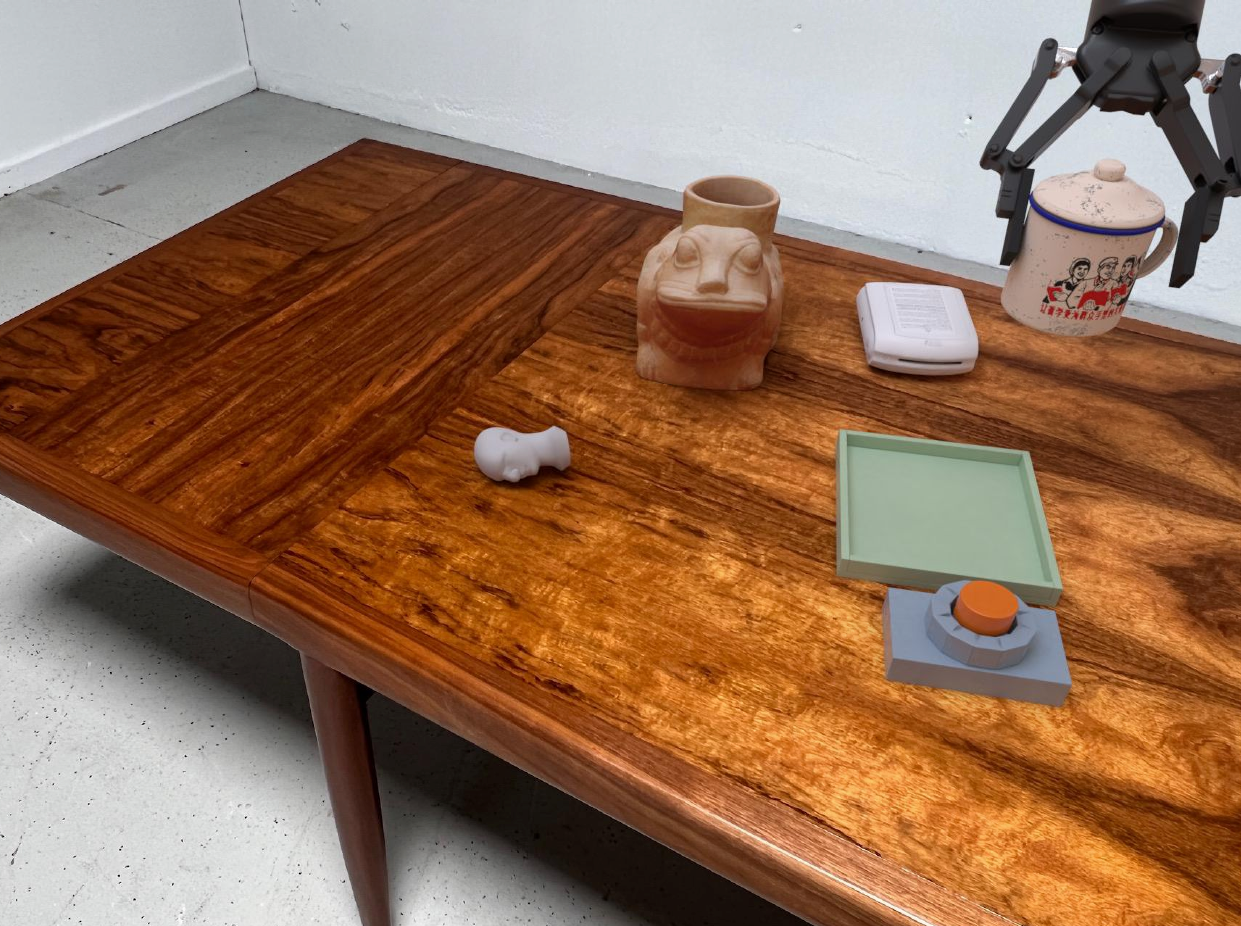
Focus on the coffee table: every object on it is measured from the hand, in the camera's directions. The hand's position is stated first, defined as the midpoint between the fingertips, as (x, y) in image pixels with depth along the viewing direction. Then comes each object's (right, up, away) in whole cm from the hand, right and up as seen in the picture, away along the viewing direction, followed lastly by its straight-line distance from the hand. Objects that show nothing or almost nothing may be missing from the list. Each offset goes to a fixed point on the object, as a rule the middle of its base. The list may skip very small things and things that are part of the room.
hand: (1093, 270), depth 79 cm
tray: (-10, -18, +5) cm, 21 cm away
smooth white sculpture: (-42, -14, +10) cm, 46 cm away
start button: (-12, -25, -8) cm, 29 cm away
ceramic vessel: (-24, 0, +27) cm, 36 cm away
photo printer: (-3, +5, +29) cm, 29 cm away
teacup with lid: (+1, -2, +5) cm, 5 cm away
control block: (-12, -28, -6) cm, 31 cm away
